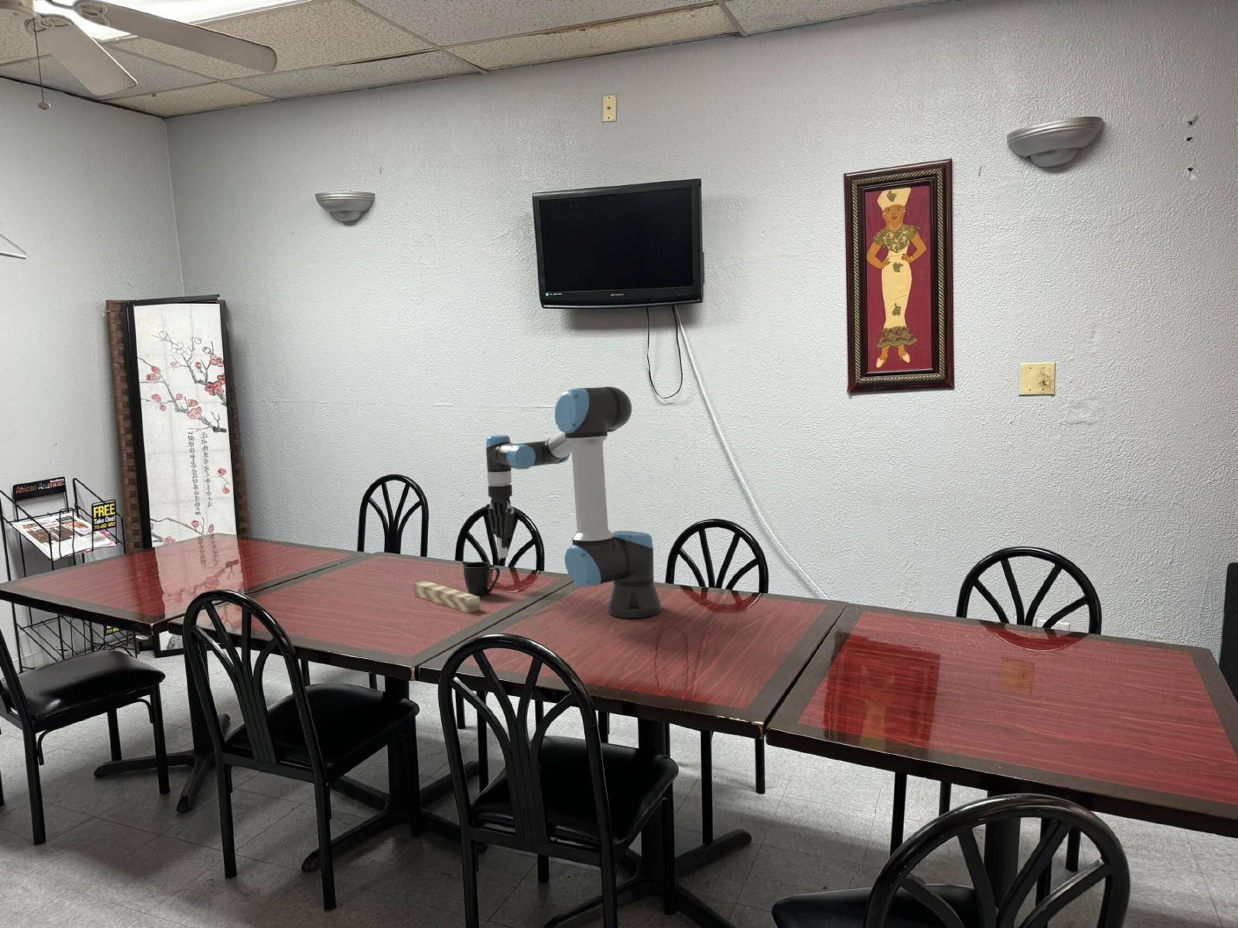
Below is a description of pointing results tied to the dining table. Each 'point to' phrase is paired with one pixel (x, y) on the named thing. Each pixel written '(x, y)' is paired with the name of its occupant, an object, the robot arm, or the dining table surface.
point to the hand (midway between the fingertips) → (503, 557)
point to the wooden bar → (447, 596)
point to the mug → (479, 578)
